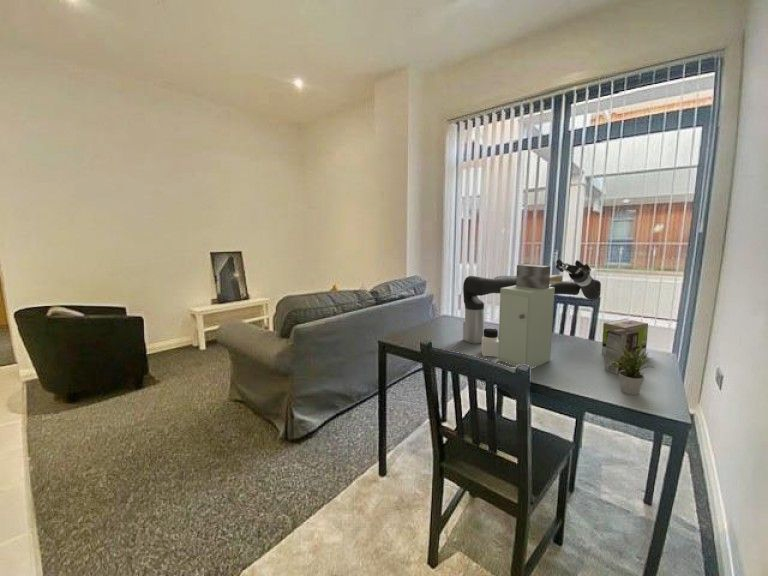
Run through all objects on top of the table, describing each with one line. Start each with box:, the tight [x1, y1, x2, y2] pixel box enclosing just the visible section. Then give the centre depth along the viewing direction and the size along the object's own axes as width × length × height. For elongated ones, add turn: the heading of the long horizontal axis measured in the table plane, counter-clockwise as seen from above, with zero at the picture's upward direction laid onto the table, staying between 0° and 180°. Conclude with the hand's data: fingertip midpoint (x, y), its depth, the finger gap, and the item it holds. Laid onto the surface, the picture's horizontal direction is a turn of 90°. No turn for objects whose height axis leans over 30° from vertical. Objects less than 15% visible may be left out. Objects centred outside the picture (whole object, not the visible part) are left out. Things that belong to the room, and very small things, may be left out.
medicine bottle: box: [480, 327, 499, 358], centre depth 157 cm, size 7×7×12 cm
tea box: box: [601, 318, 649, 357], centre depth 153 cm, size 15×10×15 cm
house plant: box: [609, 344, 656, 396], centre depth 120 cm, size 14×14×16 cm
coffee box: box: [603, 328, 639, 375], centre depth 136 cm, size 9×6×16 cm
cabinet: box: [497, 285, 555, 369], centre depth 147 cm, size 14×19×32 cm
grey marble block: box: [516, 263, 564, 289], centre depth 151 cm, size 12×24×9 cm, turn 125°
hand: (566, 261), depth 160 cm, fingers open, 8 cm apart
